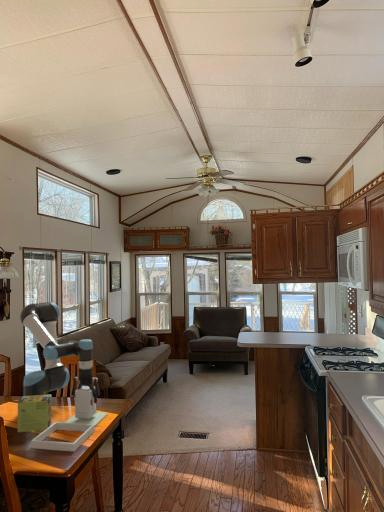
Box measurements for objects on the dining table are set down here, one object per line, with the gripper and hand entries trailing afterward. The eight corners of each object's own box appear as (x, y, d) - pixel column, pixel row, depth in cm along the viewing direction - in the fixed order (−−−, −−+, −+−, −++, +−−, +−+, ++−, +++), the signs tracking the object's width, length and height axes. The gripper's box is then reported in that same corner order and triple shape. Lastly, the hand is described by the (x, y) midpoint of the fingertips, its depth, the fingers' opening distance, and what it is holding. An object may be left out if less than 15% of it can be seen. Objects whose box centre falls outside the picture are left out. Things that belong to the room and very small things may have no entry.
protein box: (48, 430, 203) (48, 400, 203) (17, 432, 200) (17, 402, 201) (52, 422, 213) (51, 394, 214) (22, 424, 211) (22, 395, 211)
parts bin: (31, 448, 183) (31, 440, 183) (55, 428, 205) (55, 421, 205) (74, 451, 179) (74, 444, 179) (94, 431, 201) (94, 424, 201)
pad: (63, 425, 208) (63, 423, 208) (78, 413, 226) (78, 411, 226) (94, 427, 205) (94, 425, 205) (107, 414, 223) (107, 413, 223)
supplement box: (89, 419, 210) (89, 391, 210) (74, 418, 212) (74, 390, 212) (97, 412, 219) (96, 386, 219) (82, 411, 221) (82, 385, 221)
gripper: (64, 368, 214) (64, 409, 214) (101, 370, 210) (101, 411, 210) (71, 365, 222) (71, 404, 221) (106, 366, 218) (107, 406, 217)
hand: (86, 408), depth 216 cm, fingers closed on supplement box, 9 cm apart
